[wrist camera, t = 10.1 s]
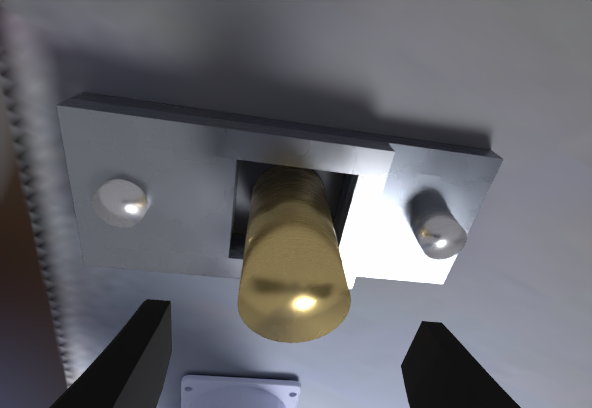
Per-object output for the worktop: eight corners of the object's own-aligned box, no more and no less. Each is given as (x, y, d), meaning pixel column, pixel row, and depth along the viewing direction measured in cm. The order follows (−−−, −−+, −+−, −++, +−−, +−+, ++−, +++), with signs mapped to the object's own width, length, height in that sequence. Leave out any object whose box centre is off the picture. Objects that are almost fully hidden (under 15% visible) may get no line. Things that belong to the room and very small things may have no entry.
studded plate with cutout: (436, 271, 20) (454, 304, 18) (102, 239, 18) (78, 272, 16) (491, 150, 17) (523, 173, 14) (82, 92, 14) (48, 109, 12)
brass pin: (321, 229, 18) (342, 343, 12) (251, 227, 18) (238, 342, 12) (329, 165, 17) (359, 262, 11) (252, 161, 16) (236, 258, 10)
